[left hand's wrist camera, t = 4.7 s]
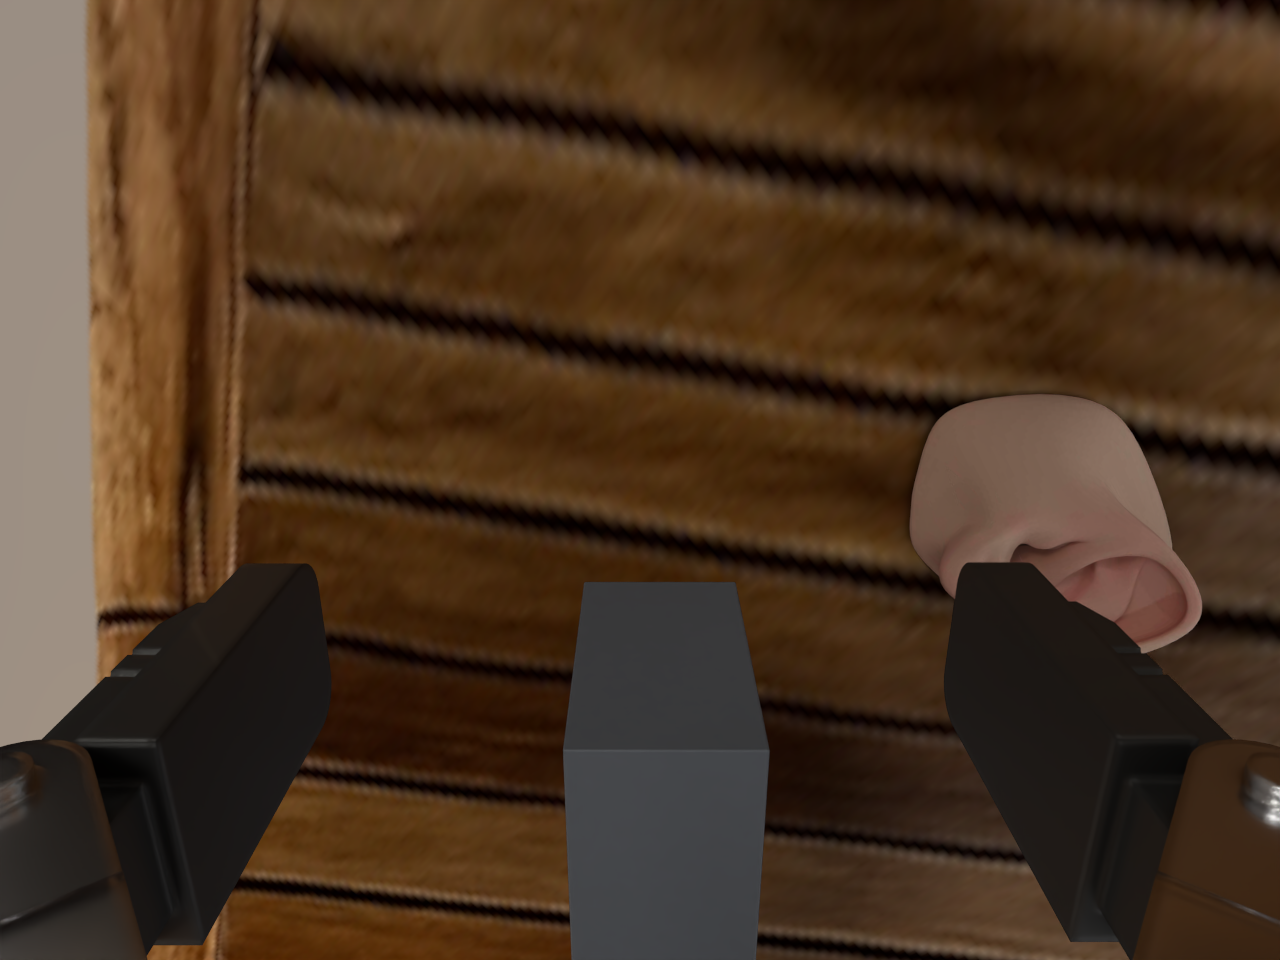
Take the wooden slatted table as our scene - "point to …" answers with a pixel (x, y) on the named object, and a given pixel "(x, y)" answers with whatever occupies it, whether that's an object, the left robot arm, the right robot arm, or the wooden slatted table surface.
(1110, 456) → the anatomical model
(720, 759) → the bar
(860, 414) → the wooden slatted table surface
